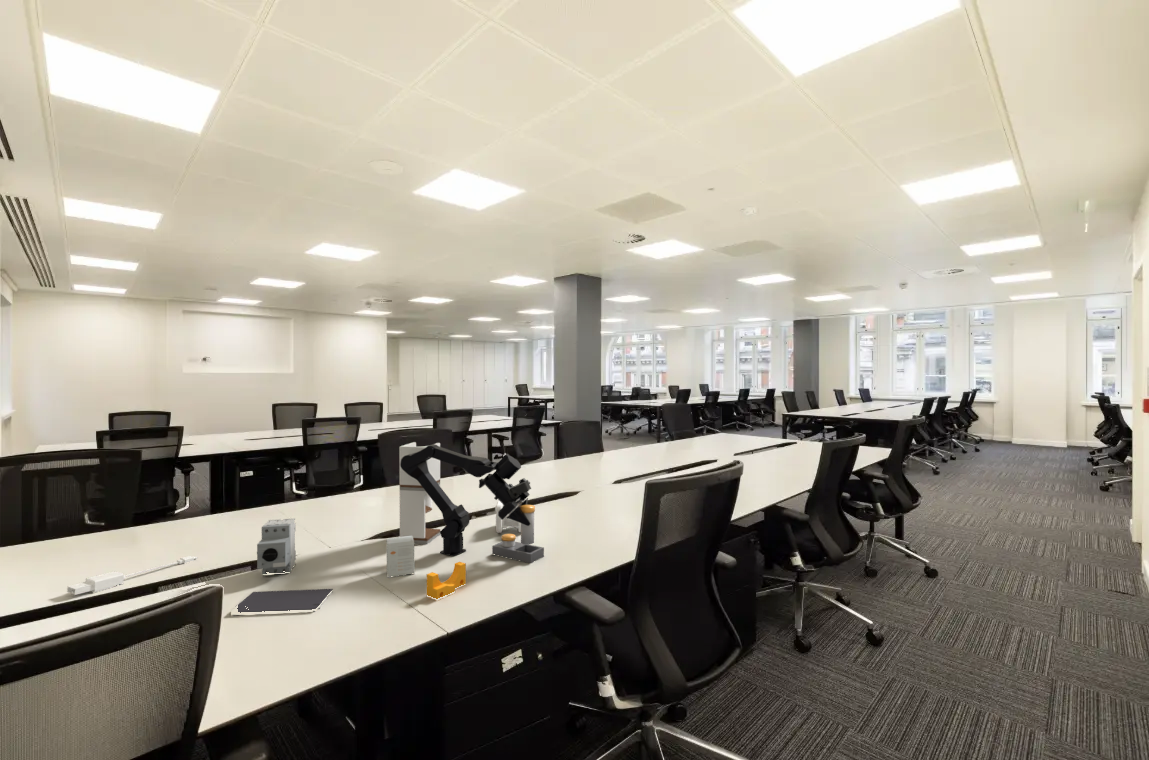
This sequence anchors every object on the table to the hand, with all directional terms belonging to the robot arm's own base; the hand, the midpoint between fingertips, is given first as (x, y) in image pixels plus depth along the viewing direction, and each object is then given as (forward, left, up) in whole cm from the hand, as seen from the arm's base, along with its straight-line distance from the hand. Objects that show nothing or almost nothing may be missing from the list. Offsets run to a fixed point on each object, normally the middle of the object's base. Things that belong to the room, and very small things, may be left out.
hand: (531, 523), depth 176 cm
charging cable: (-74, +93, -12) cm, 120 cm away
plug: (0, +1, -7) cm, 7 cm away
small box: (-31, +27, -12) cm, 43 cm away
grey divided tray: (0, +5, -12) cm, 13 cm away
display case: (-4, +47, -12) cm, 49 cm away
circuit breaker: (-51, +59, -12) cm, 79 cm away
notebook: (-62, +37, -13) cm, 74 cm away
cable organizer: (+22, +25, -12) cm, 35 cm away
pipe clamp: (-34, +5, -12) cm, 36 cm away
